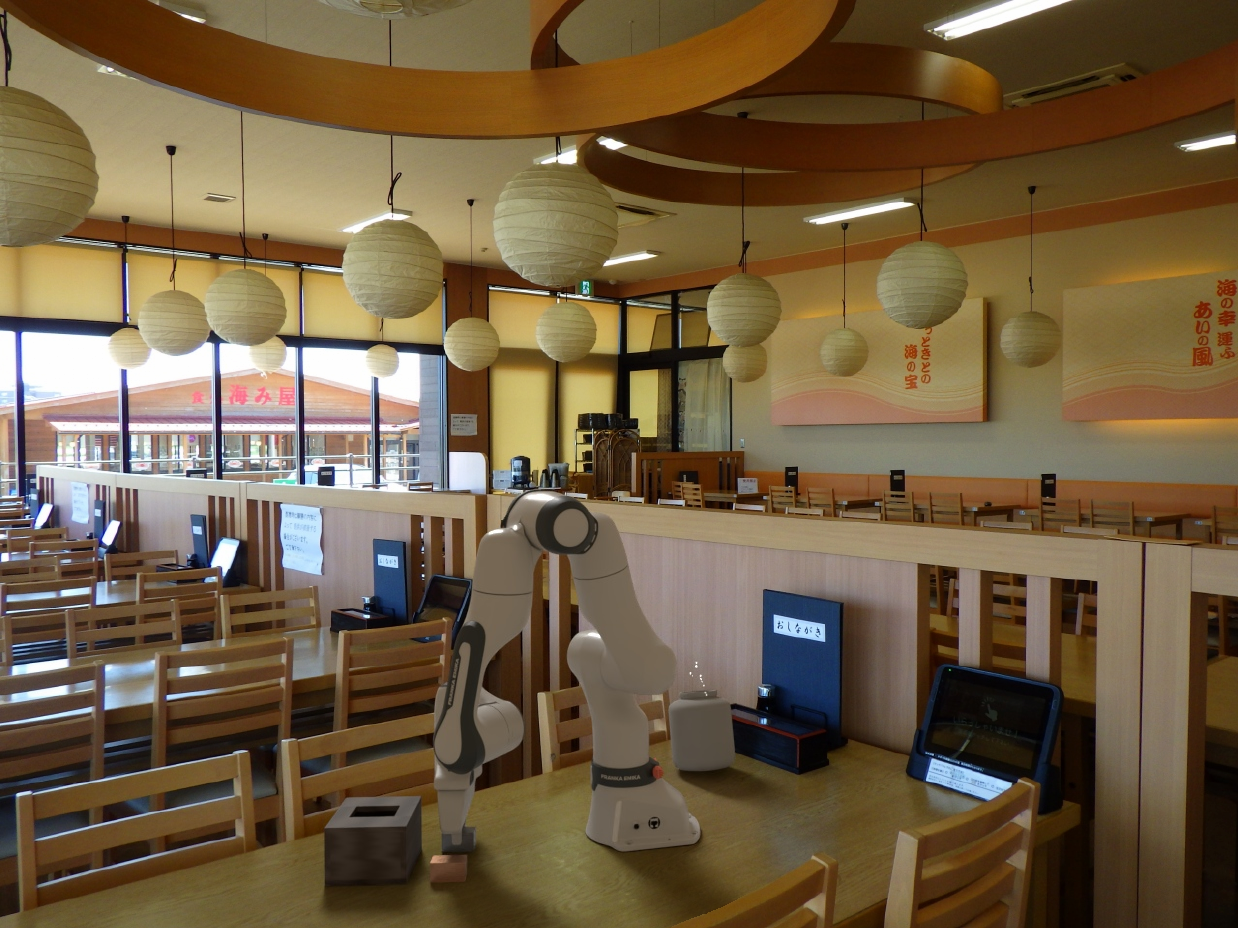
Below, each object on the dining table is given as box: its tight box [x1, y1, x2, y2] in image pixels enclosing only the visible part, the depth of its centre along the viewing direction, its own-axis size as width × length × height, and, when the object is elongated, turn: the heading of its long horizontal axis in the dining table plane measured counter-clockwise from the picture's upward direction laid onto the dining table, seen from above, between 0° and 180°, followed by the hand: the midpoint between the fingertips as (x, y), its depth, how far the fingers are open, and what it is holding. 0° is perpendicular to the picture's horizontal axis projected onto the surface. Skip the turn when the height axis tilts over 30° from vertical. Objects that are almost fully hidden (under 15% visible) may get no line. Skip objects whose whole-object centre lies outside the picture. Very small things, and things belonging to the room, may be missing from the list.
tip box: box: [323, 795, 423, 887], centre depth 159 cm, size 14×14×10 cm
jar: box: [668, 661, 736, 772], centre depth 210 cm, size 19×15×25 cm
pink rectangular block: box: [429, 854, 468, 883], centre depth 155 cm, size 6×3×4 cm, turn 92°
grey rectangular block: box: [440, 826, 477, 853], centre depth 167 cm, size 6×3×4 cm, turn 91°
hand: (458, 837), depth 167 cm, fingers closed on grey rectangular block, 3 cm apart
